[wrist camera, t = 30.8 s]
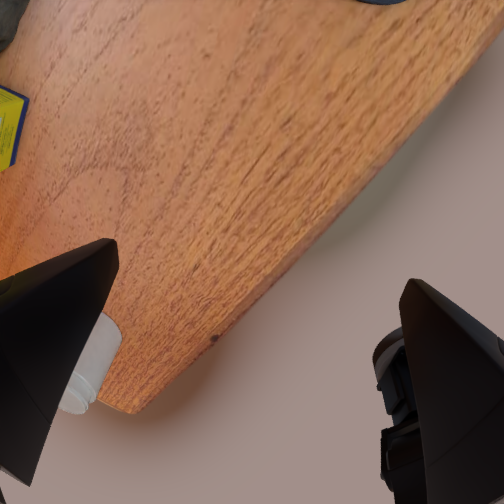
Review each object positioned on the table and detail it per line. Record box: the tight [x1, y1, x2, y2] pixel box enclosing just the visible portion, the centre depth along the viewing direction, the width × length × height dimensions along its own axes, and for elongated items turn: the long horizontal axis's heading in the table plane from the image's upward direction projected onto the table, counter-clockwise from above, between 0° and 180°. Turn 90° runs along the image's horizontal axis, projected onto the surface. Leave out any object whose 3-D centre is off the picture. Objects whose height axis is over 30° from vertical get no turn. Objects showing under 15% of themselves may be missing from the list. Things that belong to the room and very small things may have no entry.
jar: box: [58, 312, 122, 414], centre depth 24 cm, size 6×6×9 cm
